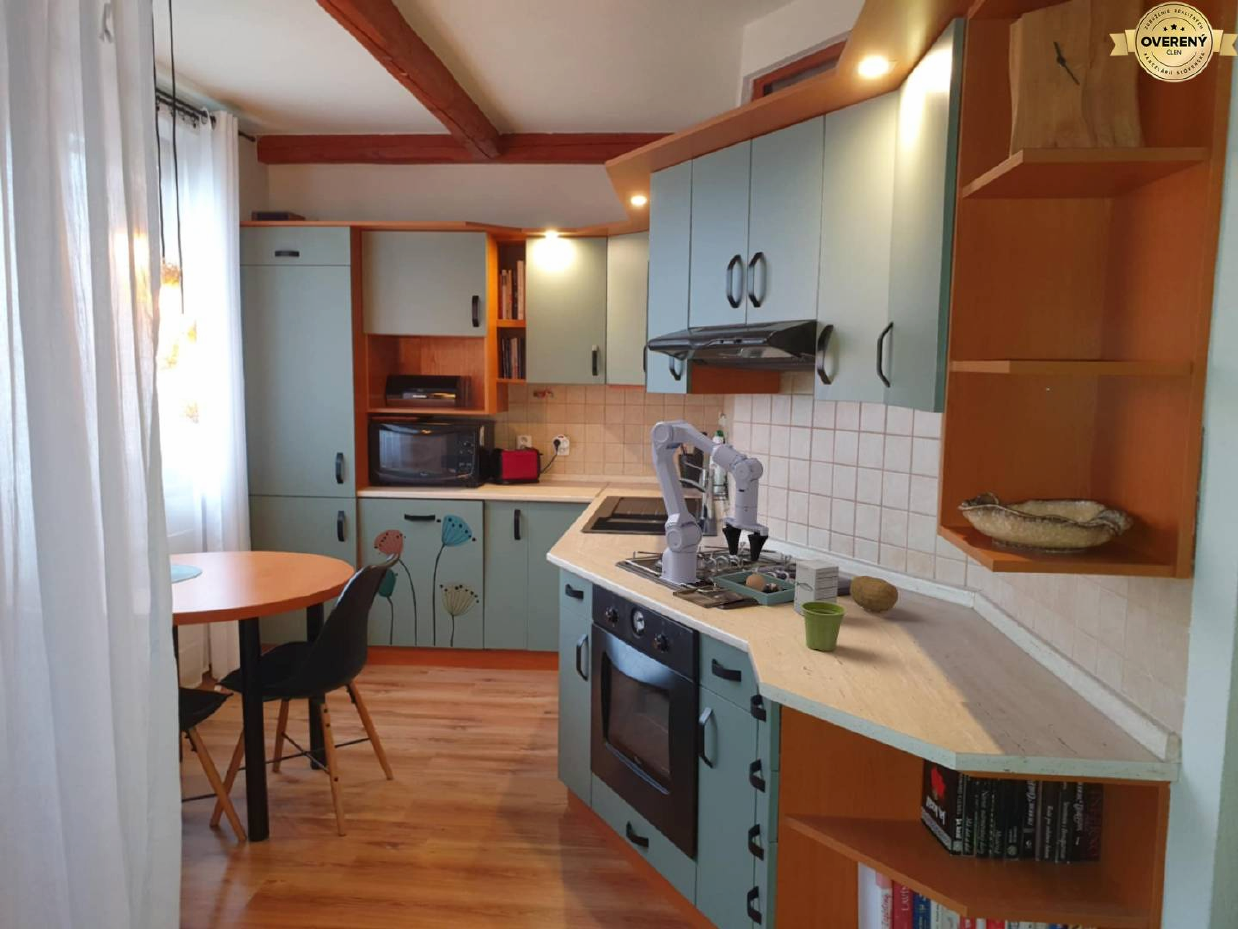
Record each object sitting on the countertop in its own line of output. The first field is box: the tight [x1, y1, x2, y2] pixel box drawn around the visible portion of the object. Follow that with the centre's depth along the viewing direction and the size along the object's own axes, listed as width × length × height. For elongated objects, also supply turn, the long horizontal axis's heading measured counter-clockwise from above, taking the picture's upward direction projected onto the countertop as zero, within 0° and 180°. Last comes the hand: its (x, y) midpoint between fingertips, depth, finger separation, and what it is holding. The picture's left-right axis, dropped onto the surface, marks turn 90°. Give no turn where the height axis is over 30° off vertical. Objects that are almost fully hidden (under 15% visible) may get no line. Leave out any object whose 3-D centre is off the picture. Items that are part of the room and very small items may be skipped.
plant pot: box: [801, 601, 847, 652], centre depth 176 cm, size 9×9×9 cm
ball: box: [745, 574, 766, 592], centre depth 214 cm, size 5×5×5 cm
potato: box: [849, 575, 899, 613], centre depth 203 cm, size 10×14×8 cm
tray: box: [712, 569, 795, 607], centre depth 215 cm, size 20×14×3 cm
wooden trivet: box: [672, 584, 736, 609], centre depth 209 cm, size 13×13×1 cm
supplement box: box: [793, 558, 840, 616], centre depth 198 cm, size 7×7×13 cm
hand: (743, 557), depth 212 cm, fingers open, 7 cm apart
